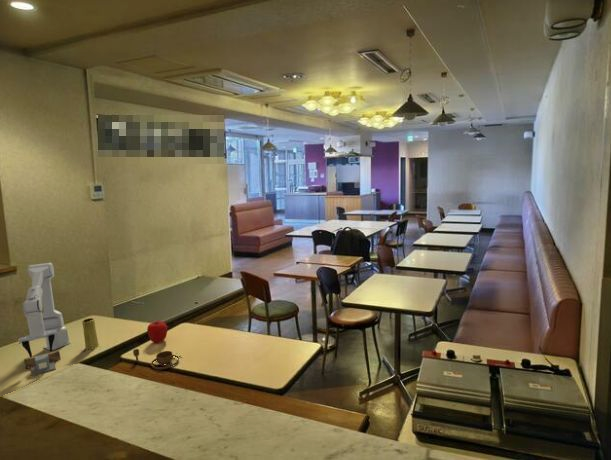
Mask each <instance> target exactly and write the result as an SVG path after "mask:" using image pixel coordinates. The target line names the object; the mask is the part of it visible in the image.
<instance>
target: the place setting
mask: <svg viewBox="0 0 611 460" xmlns="http://www.w3.org/2000/svg"><path fill="white" fill-rule="evenodd" d="M132 351H133V356H134V357H135V360H136V361H135V363H139V356H140V349H139V348H136V349H133V350H132ZM155 356H156V358H154V359H152V361H151V363H150V365H151V368H153V369H154V370H158V371H159V370H160V371H161V370H166V369H167V370H168V369H170V367H171V366H173V365H175V364H176V363H177V362H178V363H179V362H180V361H179V360H180V357H178V356H176V355H175V354H173V352H172V351H169V350H164V351H161V352H159V353H157V354H156V355H155ZM173 356H175V357H177V358H178V360H175V362H174V363H172V364H171V362H172V361H173V359H174V358H173ZM156 360H157V362H156V363H157V364H160V365H161V364H162V365H161V366H154V365H155V364H154V365H153V362H154V361H156ZM168 363H169V364H168ZM178 363H177V364H178ZM164 364H167V365H164ZM177 364H176V365H177ZM176 365H175V366H176ZM173 367H174V366H173ZM171 368H172V367H171Z"/></svg>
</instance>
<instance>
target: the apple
mask: <svg viewBox="0 0 611 460" xmlns="http://www.w3.org/2000/svg"><path fill="white" fill-rule="evenodd" d="M146 330H147V334H148V337H149V339H150V342H152V343H154V344H160V343H162V342H163V341H164V340H165V339H166V337H167V334H168V325H167V324H166V323H165V322H164V321H161V320H160V321H159V320H158V321H153V322H151V323H149V325H148V326H147V329H146Z"/></svg>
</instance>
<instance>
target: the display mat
mask: <svg viewBox="0 0 611 460" xmlns="http://www.w3.org/2000/svg"><path fill="white" fill-rule="evenodd" d="M49 363H50V368H48V369H44V370H40V371H37V369H36V366H33V367H31V376H32V377H33V376H37V375H40V374H45V373H48V372H52V371H55V370H56V369H57V368H56V361H52V362H49Z"/></svg>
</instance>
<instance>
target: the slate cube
mask: <svg viewBox="0 0 611 460" xmlns="http://www.w3.org/2000/svg"><path fill="white" fill-rule="evenodd" d="M43 354H44V355H43ZM43 354H40V356H39V355H35V356H36V357H35V356H34V357H35V363H36V369H37V371H40V370H44V369H48V368H50V363H49V357H48V354H47V353H43Z"/></svg>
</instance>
